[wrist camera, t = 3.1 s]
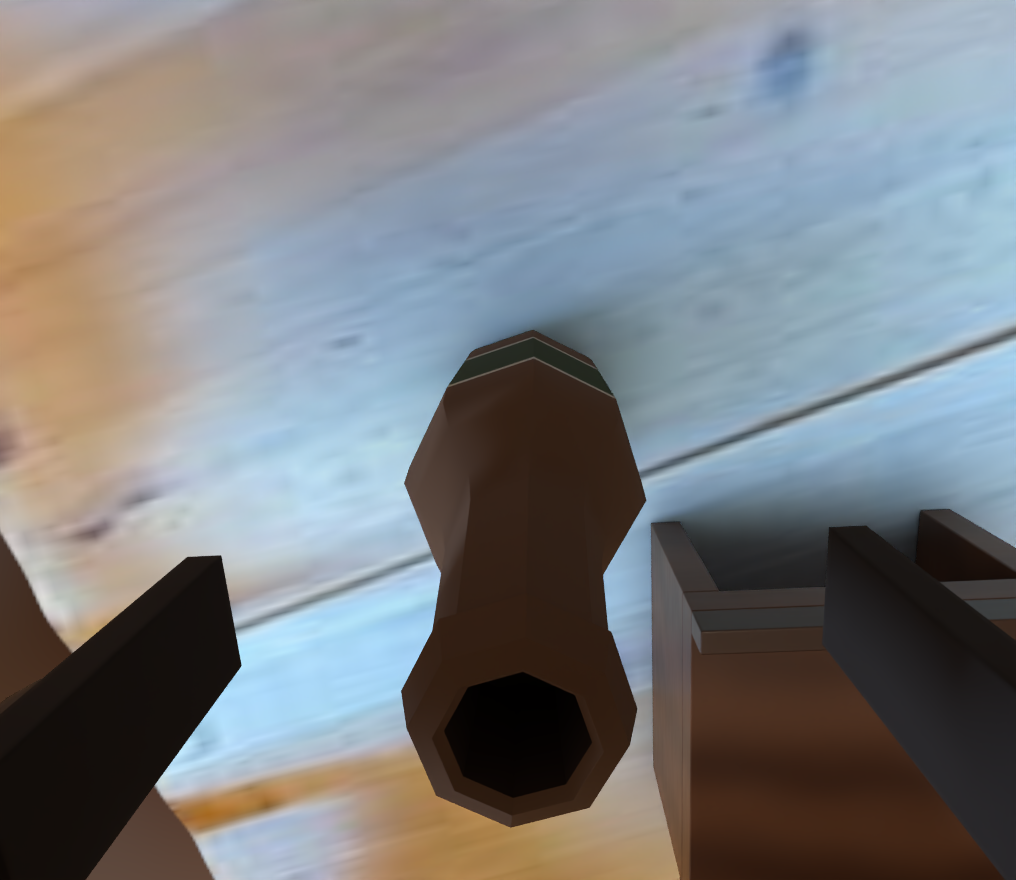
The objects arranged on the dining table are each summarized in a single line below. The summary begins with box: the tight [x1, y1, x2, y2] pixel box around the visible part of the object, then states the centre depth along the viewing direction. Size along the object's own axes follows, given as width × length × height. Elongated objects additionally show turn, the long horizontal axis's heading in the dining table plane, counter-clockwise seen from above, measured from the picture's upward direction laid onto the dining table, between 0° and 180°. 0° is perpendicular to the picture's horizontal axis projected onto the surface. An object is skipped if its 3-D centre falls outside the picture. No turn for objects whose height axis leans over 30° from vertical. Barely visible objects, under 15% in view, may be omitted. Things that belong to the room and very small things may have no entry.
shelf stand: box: [651, 509, 1016, 880], centre depth 26 cm, size 16×15×21 cm
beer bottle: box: [401, 330, 646, 827], centre depth 21 cm, size 8×8×24 cm
